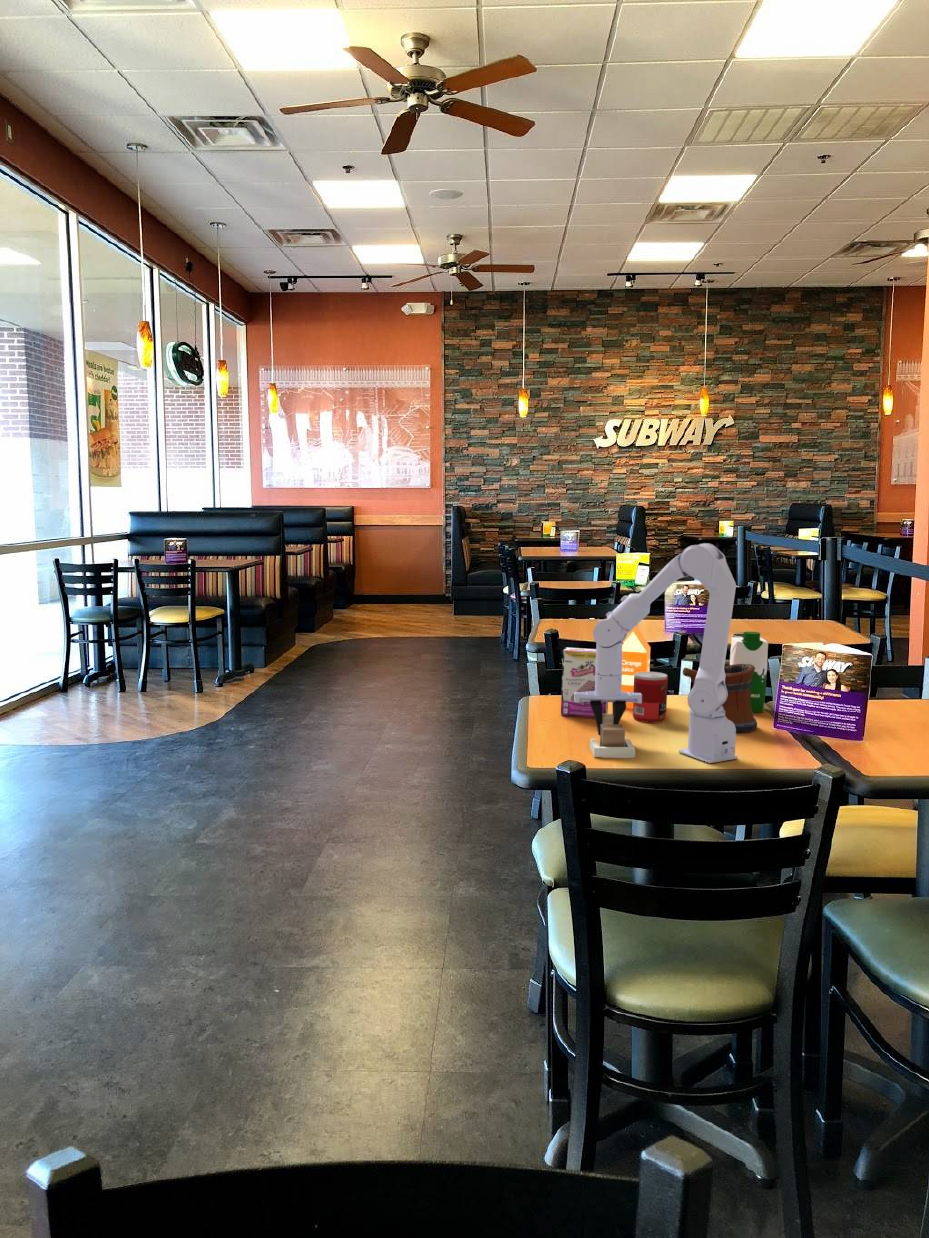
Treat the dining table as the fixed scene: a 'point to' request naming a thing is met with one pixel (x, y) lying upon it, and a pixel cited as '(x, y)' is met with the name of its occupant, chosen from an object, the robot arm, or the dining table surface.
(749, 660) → the milk carton
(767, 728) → the dining table surface
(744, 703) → the mug
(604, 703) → the candy bar box
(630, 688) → the orange juice
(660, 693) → the canned food
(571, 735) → the dining table surface
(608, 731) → the block
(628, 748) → the white u-shaped bracket
